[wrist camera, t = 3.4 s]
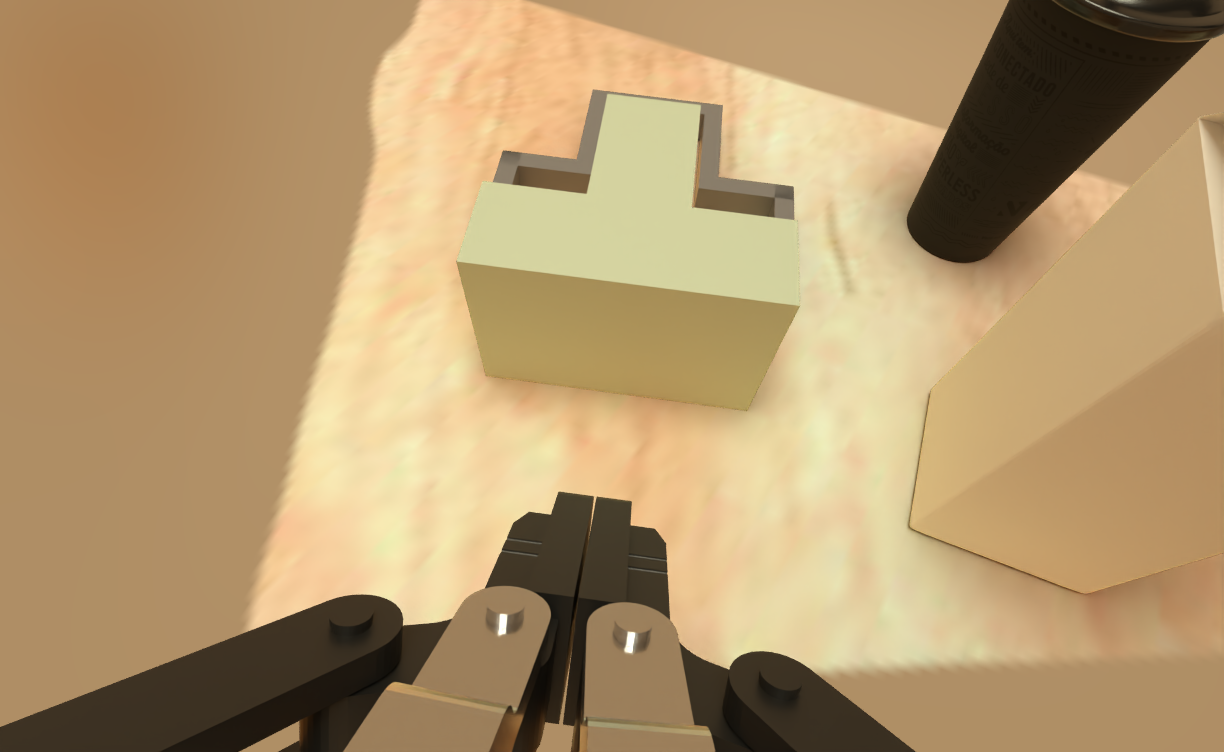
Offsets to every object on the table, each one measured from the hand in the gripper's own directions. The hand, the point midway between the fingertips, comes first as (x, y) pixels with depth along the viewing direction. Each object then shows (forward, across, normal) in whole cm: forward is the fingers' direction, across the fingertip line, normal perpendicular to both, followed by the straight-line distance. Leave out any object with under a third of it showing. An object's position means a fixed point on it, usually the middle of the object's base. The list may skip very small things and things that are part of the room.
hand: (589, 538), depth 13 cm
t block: (+20, 0, -2) cm, 20 cm away
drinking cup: (+25, -17, -8) cm, 31 cm away
